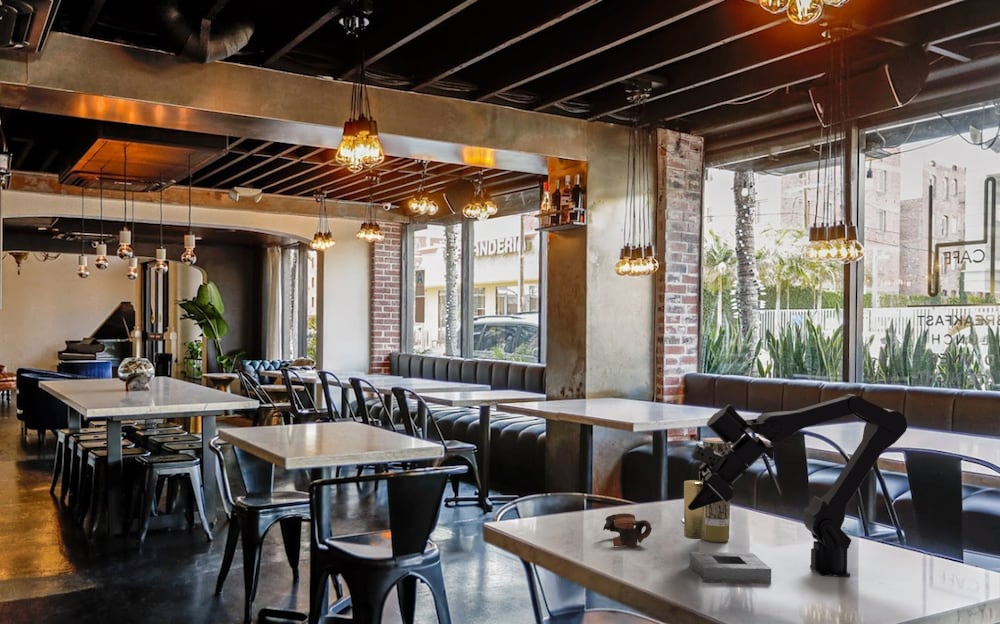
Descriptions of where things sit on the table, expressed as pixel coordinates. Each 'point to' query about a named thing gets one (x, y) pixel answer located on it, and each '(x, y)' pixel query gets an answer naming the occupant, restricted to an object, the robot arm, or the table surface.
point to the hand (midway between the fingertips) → (688, 506)
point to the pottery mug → (627, 529)
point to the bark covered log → (717, 504)
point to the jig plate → (730, 567)
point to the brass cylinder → (693, 512)
